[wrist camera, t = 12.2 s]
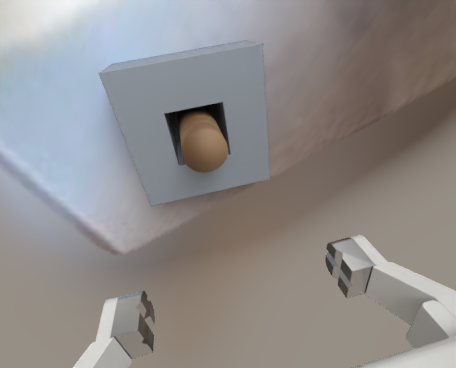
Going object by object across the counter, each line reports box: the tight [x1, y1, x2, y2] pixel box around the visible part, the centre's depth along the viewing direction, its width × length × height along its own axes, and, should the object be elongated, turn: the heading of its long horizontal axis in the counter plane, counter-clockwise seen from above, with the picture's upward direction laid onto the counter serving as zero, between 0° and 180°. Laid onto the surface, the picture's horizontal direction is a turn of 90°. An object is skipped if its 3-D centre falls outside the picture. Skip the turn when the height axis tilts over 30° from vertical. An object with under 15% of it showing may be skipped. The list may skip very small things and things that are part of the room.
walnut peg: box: [178, 105, 228, 173], centre depth 26 cm, size 4×4×10 cm
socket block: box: [99, 41, 270, 206], centre depth 28 cm, size 14×14×6 cm
